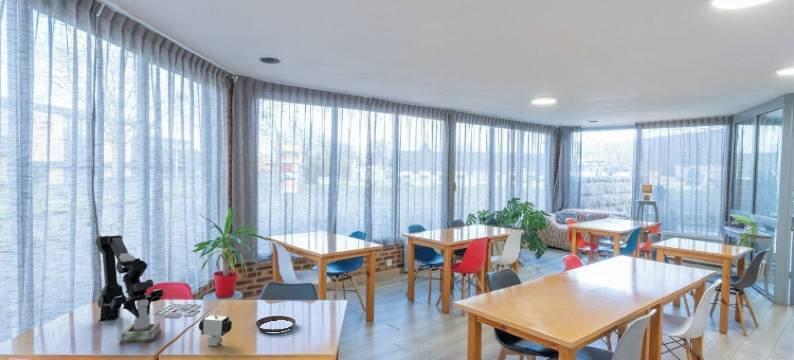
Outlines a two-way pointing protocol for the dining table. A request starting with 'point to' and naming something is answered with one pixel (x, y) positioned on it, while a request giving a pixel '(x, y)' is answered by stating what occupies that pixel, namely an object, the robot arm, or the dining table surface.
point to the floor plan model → (182, 307)
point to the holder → (140, 334)
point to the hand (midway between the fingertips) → (143, 316)
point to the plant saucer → (274, 318)
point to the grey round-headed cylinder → (142, 316)
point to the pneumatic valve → (215, 328)
